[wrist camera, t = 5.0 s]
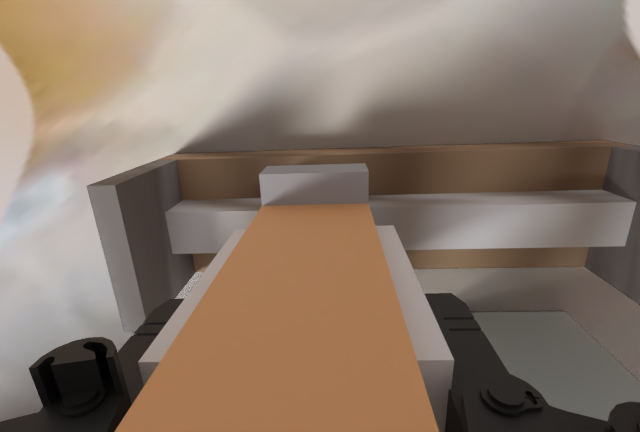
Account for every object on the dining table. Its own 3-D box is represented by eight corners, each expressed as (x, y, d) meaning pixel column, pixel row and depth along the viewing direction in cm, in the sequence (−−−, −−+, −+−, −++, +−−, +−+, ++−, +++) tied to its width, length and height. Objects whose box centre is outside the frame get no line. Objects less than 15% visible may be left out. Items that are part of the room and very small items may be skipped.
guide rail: (191, 256, 21) (124, 331, 14) (174, 153, 19) (86, 185, 12) (579, 249, 20) (702, 328, 13) (603, 140, 18) (762, 167, 11)
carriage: (283, 275, 18) (163, 697, 5) (274, 158, 16) (52, 392, 3) (361, 274, 18) (426, 709, 5) (361, 156, 16) (466, 394, 3)
